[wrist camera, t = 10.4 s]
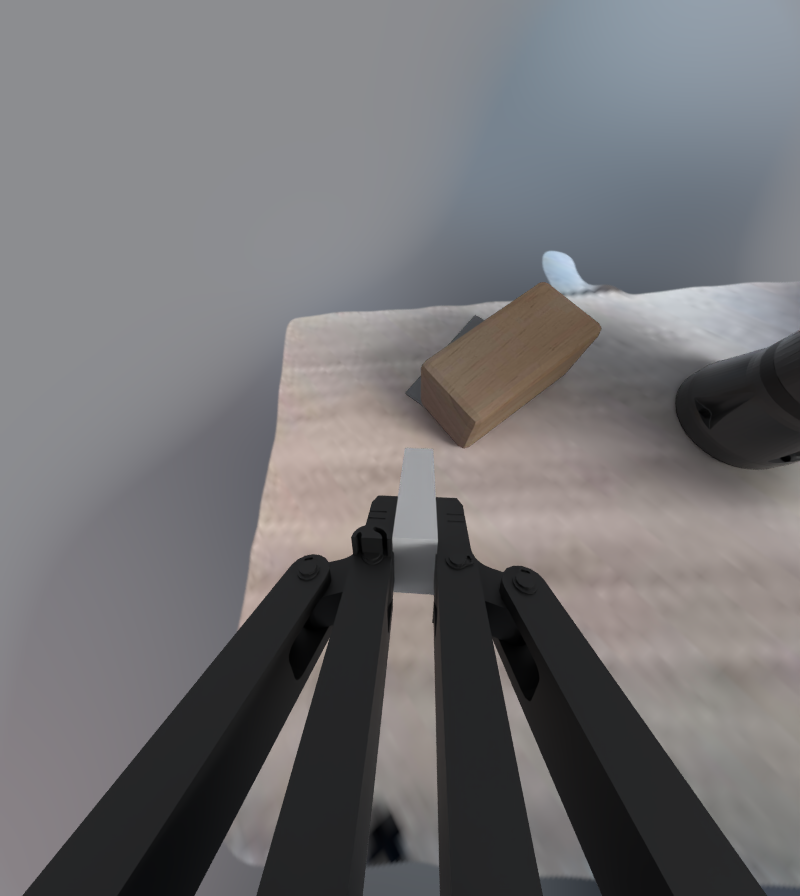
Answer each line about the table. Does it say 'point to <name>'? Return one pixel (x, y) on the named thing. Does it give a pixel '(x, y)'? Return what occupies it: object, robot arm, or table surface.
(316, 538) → the table surface
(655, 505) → the table surface
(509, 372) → the block
